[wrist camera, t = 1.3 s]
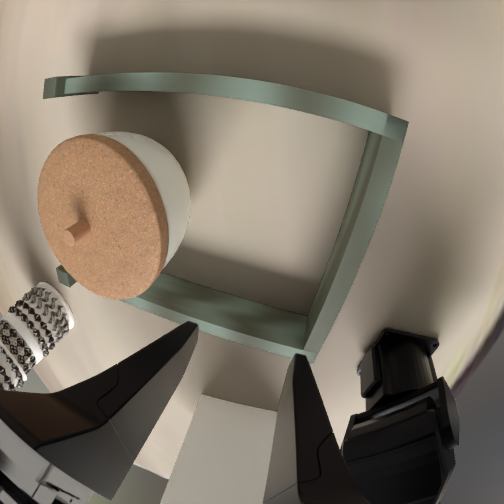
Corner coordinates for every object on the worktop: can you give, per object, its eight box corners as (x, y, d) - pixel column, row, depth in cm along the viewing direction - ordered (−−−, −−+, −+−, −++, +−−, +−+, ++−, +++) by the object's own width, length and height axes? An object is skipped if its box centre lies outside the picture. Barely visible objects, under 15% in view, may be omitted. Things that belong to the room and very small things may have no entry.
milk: (206, 428, 39) (152, 559, 17) (201, 394, 34) (125, 560, 11) (279, 445, 37) (239, 584, 15) (291, 414, 32) (242, 597, 9)
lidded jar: (103, 119, 19) (12, 141, 11) (221, 129, 18) (144, 149, 10) (105, 232, 25) (36, 284, 17) (206, 261, 23) (151, 339, 15)
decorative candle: (75, 302, 32) (-39, 435, 10) (77, 339, 36) (-11, 453, 15) (33, 267, 31) (-79, 375, 10) (39, 308, 36) (-50, 405, 15)
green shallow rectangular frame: (391, 116, 15) (415, 119, 11) (315, 331, 24) (311, 374, 20) (87, 77, 18) (44, 79, 13) (89, 257, 27) (59, 282, 23)
